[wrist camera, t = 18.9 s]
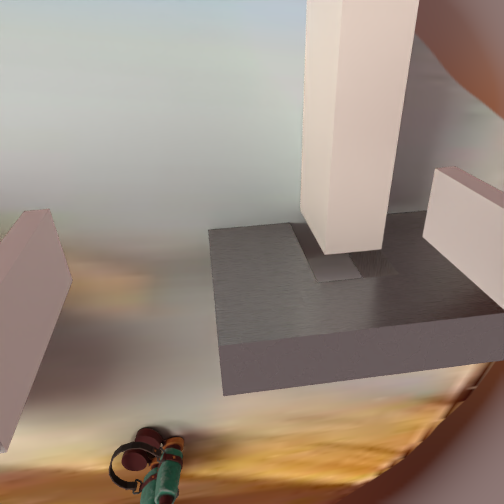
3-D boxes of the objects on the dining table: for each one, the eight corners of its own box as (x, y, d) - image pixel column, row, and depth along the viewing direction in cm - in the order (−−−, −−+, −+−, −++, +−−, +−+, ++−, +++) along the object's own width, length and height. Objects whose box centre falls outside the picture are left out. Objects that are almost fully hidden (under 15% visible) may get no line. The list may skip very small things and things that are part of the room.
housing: (421, 249, 47) (524, 357, 33) (212, 270, 45) (223, 396, 30) (429, 210, 45) (545, 307, 30) (208, 229, 42) (218, 346, 28)
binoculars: (110, 489, 46) (189, 512, 49) (130, 413, 56) (196, 437, 59) (82, 530, 50) (158, 550, 53) (105, 452, 59) (169, 472, 62)
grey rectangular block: (346, 206, 43) (381, 249, 35) (300, 210, 42) (324, 254, 35) (373, -72, 31) (434, -97, 23) (308, -70, 31) (349, -96, 23)
